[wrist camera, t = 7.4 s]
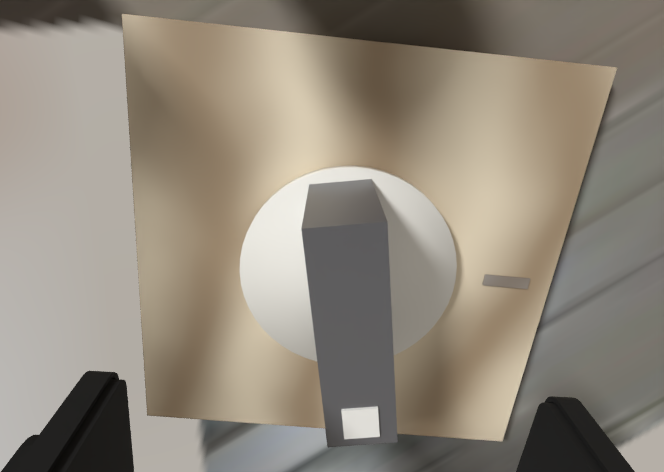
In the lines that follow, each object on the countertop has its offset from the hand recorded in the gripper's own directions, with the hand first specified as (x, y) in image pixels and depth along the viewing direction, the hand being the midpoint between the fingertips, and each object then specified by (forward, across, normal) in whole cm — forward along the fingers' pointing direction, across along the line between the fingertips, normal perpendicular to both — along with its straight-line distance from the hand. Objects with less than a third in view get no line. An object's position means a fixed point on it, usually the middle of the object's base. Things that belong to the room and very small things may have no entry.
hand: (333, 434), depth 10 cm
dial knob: (+10, -1, 0) cm, 10 cm away
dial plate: (+11, -1, 0) cm, 11 cm away
